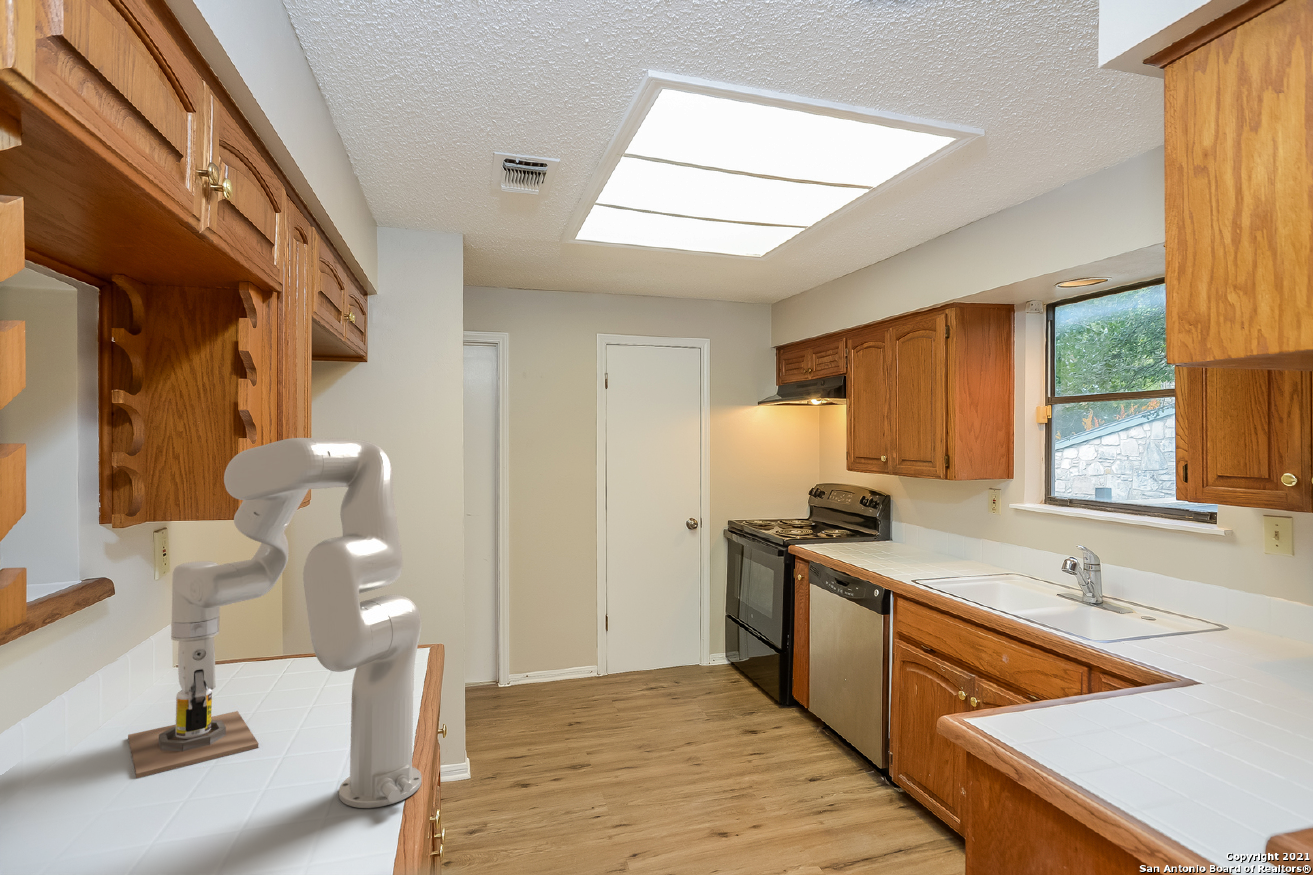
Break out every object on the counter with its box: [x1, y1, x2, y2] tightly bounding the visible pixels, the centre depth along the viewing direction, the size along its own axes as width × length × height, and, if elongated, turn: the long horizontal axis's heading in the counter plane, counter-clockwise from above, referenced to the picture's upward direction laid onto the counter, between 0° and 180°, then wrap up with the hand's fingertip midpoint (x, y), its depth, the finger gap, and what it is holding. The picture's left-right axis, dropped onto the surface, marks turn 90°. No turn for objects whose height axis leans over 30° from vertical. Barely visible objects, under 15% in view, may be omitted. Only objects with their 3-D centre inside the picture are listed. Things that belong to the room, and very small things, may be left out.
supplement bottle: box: [175, 685, 213, 739], centre depth 126 cm, size 6×6×10 cm
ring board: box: [127, 710, 259, 779], centre depth 126 cm, size 20×18×2 cm
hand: (193, 723), depth 126 cm, fingers closed on supplement bottle, 5 cm apart
